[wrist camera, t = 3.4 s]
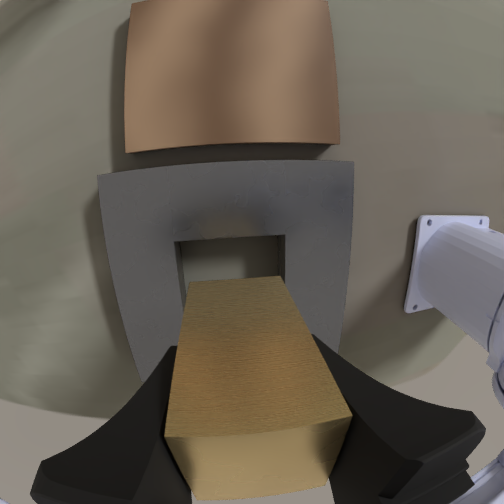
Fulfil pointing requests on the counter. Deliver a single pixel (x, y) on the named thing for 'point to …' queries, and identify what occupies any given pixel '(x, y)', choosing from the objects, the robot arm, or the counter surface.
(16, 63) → the counter surface
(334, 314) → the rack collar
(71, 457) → the robot arm
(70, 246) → the counter surface
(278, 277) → the brass peg
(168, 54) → the walnut board
